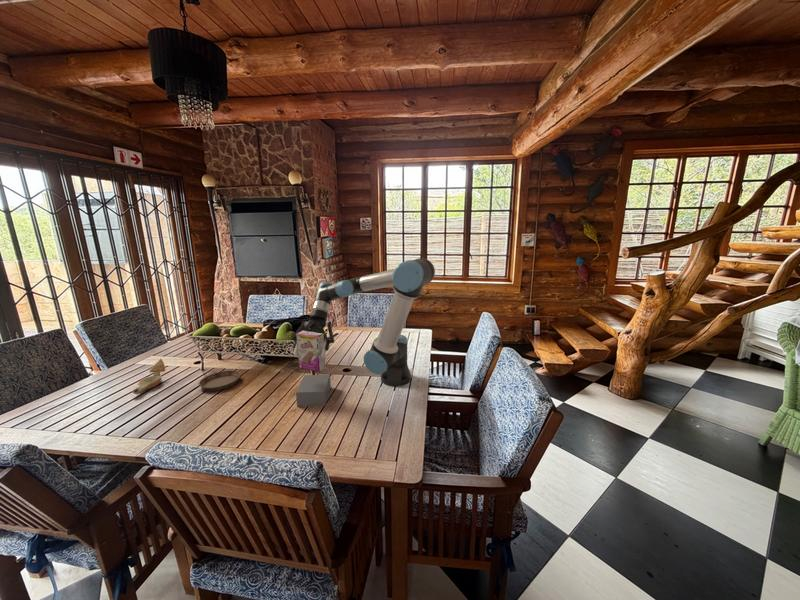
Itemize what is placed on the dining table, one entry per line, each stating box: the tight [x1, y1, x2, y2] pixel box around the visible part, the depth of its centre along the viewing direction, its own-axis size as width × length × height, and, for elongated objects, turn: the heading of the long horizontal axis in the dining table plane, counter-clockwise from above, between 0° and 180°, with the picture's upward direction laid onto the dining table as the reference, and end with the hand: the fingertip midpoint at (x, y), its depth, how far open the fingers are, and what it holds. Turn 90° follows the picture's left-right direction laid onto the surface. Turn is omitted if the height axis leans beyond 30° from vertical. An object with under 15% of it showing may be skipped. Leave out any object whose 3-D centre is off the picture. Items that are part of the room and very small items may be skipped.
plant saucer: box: [198, 370, 241, 392], centre depth 156 cm, size 18×18×3 cm
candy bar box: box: [296, 330, 327, 373], centre depth 139 cm, size 11×5×16 cm, turn 70°
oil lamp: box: [131, 358, 166, 395], centre depth 153 cm, size 9×21×10 cm, turn 6°
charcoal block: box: [295, 374, 332, 408], centre depth 143 cm, size 12×16×7 cm
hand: (308, 356), depth 137 cm, fingers closed on candy bar box, 12 cm apart
